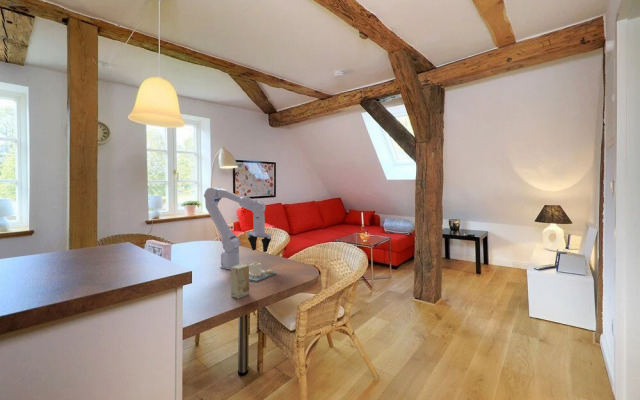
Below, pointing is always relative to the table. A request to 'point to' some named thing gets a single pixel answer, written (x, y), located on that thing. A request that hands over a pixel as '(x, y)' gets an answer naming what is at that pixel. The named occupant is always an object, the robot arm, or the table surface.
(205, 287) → the table surface
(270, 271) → the carrier plate
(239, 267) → the skincare box
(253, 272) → the gear
